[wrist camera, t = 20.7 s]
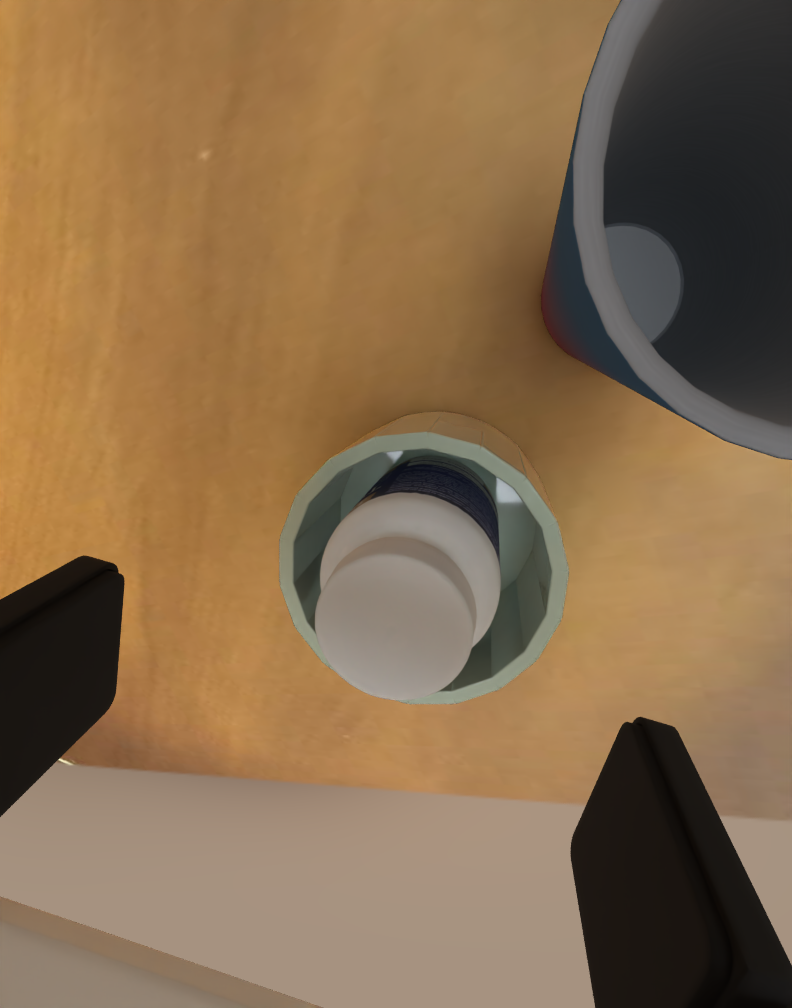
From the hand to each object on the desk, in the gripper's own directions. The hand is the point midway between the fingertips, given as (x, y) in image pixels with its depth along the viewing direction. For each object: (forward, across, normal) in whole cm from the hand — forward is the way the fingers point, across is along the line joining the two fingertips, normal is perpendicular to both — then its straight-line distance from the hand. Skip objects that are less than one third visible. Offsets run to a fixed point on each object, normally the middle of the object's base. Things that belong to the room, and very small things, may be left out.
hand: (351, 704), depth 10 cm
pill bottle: (+14, 0, +1) cm, 14 cm away
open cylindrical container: (+14, -1, +1) cm, 14 cm away
